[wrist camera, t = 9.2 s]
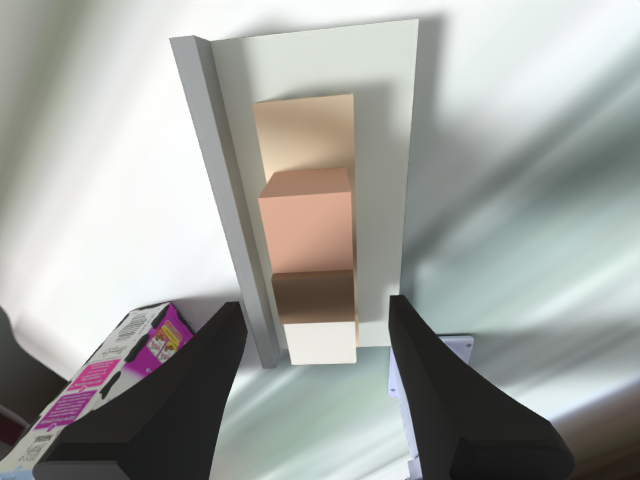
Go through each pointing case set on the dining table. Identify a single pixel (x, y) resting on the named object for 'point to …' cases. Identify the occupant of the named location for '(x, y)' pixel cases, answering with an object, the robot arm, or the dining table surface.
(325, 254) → the salmon pink cube
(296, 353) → the white cube
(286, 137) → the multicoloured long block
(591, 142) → the dining table surface
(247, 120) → the dock
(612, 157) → the dining table surface
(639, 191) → the dining table surface
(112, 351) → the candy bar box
